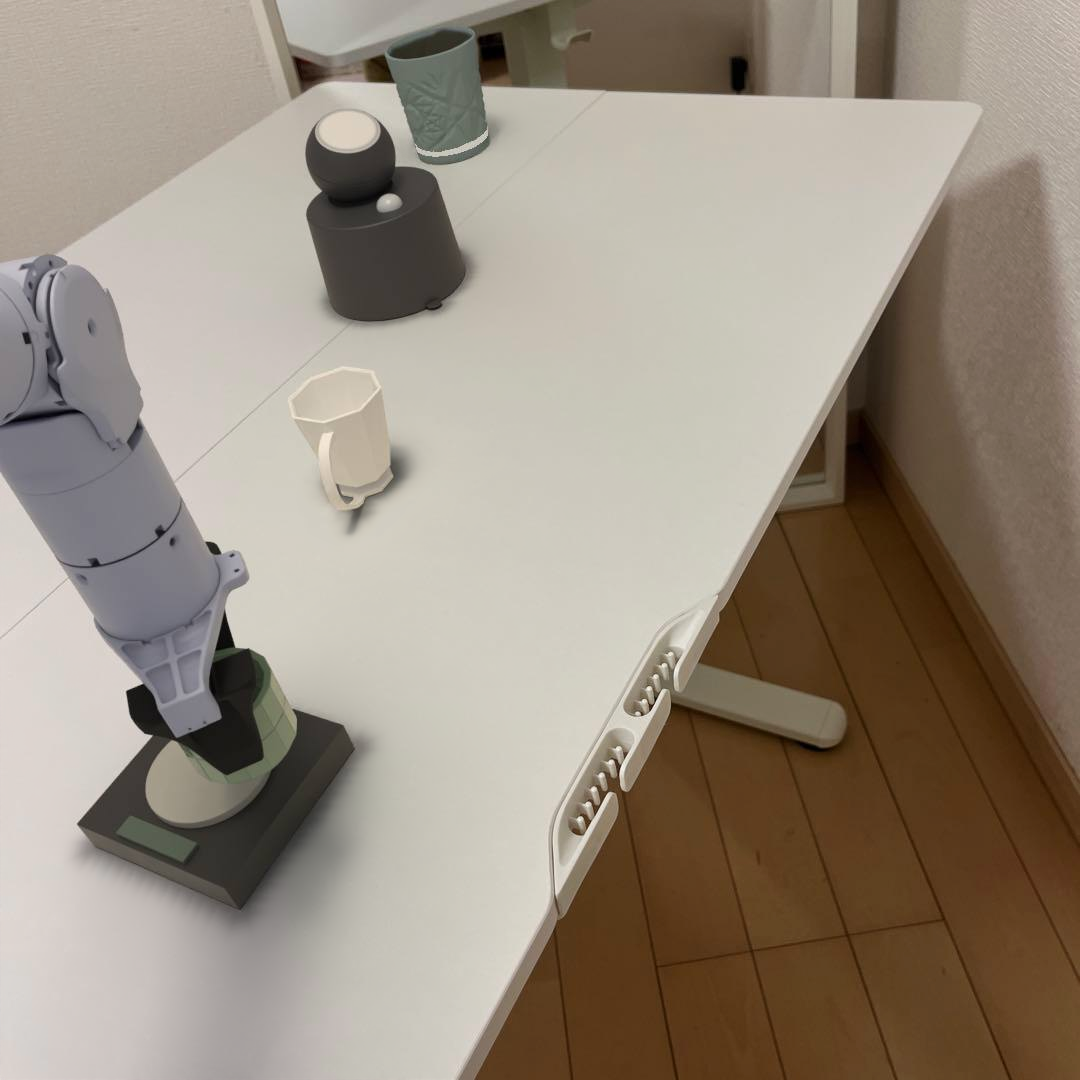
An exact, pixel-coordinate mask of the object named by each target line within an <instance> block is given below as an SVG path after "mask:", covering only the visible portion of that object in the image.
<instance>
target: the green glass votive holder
mask: <svg viewBox="0 0 1080 1080" xmlns="http://www.w3.org/2000/svg"><path fill="white" fill-rule="evenodd" d="M245 649H246V648H243V647H236V648H233V647H232V648H227V649H222V650H218V651H215V652H214V657H213V661H212V662H213V663H214V662H216V661H219V660H221V659H223V658H226V657H228V656H231V655H233V654H235V653H238V652H240V651H243V650H245ZM249 649H250V648H249ZM250 652H251V655H252V659H253V662H254V666H255V670H256V689H255V692H254V696H253V713H254V717H255V720H256V723H257V726H258V730H259V733H260V737H261V740H262V745H263V751H264V758H263V760H261V761H259V762H257V763H255V764H252V765H250V766H248V767H245V768H243V769H241V770H239V771H236V772H234V773H232V774H230V775H224V774H223V773H221V772H220V771H218V770H217V769H215V768H214V767H213V766H211V765H210V764H209V763H207V762H206V761H205V760H204V759H202V758H201V757H200V756H199V755H197V754H196V753H195V752H193V751H192V750H190V749H189V748H187V747H186V746H184V745H182V744H180V743H178V744H179V745H180V747H181V749H182V750H183V751H184V753H185V754H186V756H187V758H188V759H189V761H190V762H191V764H192V765H193V767H194V768H195V770H196V771H197V773H198V774H200V775H201V776H203V777H204V778H205V779H207V780H208V781H210V782H215V783H223V784H236V783H244V782H248V781H251V780H254V779H256V778H259V777H261V776H263V775H264V774H266V773H268V772H269V771H270V770H272V769H273V768H274V767H275V766H276V765H278V764H279V763H280V761H281V760H282V759H283V758H284V756H285V755H286V754H287V752H288V751H289V749H290V747H291V745H292V743H293V741H294V739H295V737H296V730H297V718H296V715H295V714H294V712H293V710H292V709H293V708H292V705H291V704H290V702H289V700H288V699H287V696H286V695H285V692H284V691H283V689H282V687H281V685H280V683H279V681H278V679H277V677H276V676H275V674H274V671H273V669H272V667H271V666H270V664H269V662H268V661H267V659H266V657H265V655H262V654H260V653H258V652H256V651H255V650H253V649H252V648H251V649H250Z"/></svg>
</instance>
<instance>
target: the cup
mask: <svg viewBox="0 0 1080 1080" xmlns="http://www.w3.org/2000/svg"><path fill="white" fill-rule="evenodd" d="M286 400H287V403H288V404H287V405H288V407H289V410H290V414H291V417H292V419H293V421H294V423H295V424H296V426H297V428H298V429H299V431H300V432H301V434H302V436H303V437H304V439H305V441H306V442H307V443H308V445H309V447H310V449H311V450H312V452H313V453H314V455H315V457H316V459H317V460H318V464H319V472H320V476H321V477H320V478H321V480H322V484H323V488H324V490H325V493H326V496H327V499H328V502H330V504H331V506H332V507H333V509H335V510H337V511H339V512H340V511H349V510H355V509H358V508H360V507H361V506H363V504H364V503H365V500H366V498H367V497H370V496H372V495H375V494H378V493H381V492H383V491H384V490H385V488H386V487H387V486H388V485H389V484H390V482H391V481H392V480H393V479H394V474H393V472H392V469H391V467H390V466H392V465H391V440H390V436H389V435H390V434H389V428H388V423H387V417H386V410H385V404H384V397H383V391H382V387H381V384H380V382H379V380H378V377H377V374H376V372H375V370H374V369H368V368H360V367H353V366H345V365H343V366H339V367H336V368H335V369H331V370H328V371H325V372H322V373H319V374H316V375H312V376H310V377H308V378H307V379H306V380H305V381H304V382H303V383H302V384H301V385H299V387H298V388H297V389H295V391H294V392H293V393H292V394H290V396H289V397H288V398H287V399H286ZM337 485H338V486H337ZM338 488H339V489H338ZM339 491H340V493H341V495H340V493H339ZM341 496H344V497H349V498H352V501H351V502H350V503H345V502H344V500H343V499H342V497H341Z"/></svg>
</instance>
